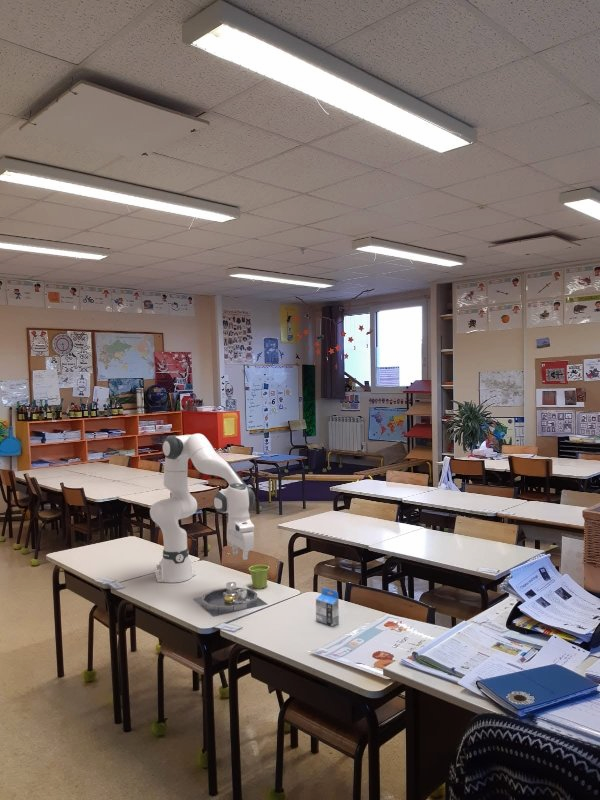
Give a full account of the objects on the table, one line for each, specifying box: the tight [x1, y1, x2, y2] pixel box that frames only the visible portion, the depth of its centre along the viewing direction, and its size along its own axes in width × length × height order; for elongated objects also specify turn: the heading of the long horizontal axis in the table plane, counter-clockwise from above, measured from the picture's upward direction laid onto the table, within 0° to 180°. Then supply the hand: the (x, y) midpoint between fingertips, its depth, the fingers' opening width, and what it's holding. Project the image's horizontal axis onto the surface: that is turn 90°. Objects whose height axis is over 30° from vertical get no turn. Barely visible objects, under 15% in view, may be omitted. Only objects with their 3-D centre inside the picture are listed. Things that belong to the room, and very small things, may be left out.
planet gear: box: [233, 588, 250, 605], centre depth 247 cm, size 7×7×6 cm
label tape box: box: [315, 586, 340, 627], centre depth 228 cm, size 9×4×12 cm, turn 45°
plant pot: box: [248, 564, 270, 590], centre depth 272 cm, size 9×9×9 cm
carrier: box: [192, 581, 268, 618], centre depth 251 cm, size 24×24×7 cm
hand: (240, 556), depth 247 cm, fingers open, 8 cm apart
